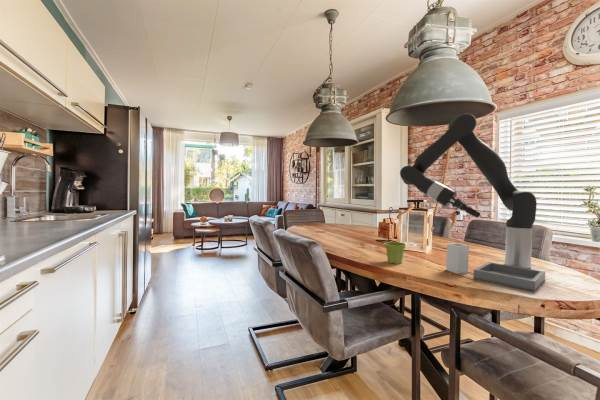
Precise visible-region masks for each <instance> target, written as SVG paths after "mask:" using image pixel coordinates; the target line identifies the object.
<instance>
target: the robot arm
mask: <svg viewBox="0 0 600 400" xmlns="http://www.w3.org/2000/svg"><path fill="white" fill-rule="evenodd" d="M476 126H477V118H476V117H475V116H474V115H473V114H471V113H462V114H459V115H457V116H456V117H453V118H452V119H451V120H450V121H449V123H448V127H447V128H448V129H447V130H446V132H445V133H443V134H442V135H441V136H440V137H439V138H438V139H436V140H435V141H434V142H433V143H432V144H430V145H429V146H427V148H425V149H424V150H423V151H422V152H421V153H420V154H419V155H418V156H417V157H416V158H415V159H414V163H413V165H412V166H411V165H405V166H403V167H402V168H401V169H400V172H399V174H400V178H401V179H402V182H403V183H404V184H406V185H408V186H411V185H412V186H414V187H415V188H416V189H417V190H418V191H420V192H421V193H423V194H424V195H426V196H428V197H429V198H430V199H431V200H433V201H435V202H436V203H439V204H440V205H441V206H443V207H448V206H450V205H451V207H453V208H455V209H457V210H458V211H462V212H464V213H467V214H469V215H471V216H473V217H475V218H480V216H481V212H479V211H478V210H475V209H474V208H473V207H472V206H469V204H468V203H466V202H464V200H462V199H460V198H458V197H457V198H456V196H457V192H456V191H455V190H453V189H452V188H450V187H448V186H446V185H445V184H442V183H441V182H439V181H436V180H434V179H433V178H431V177H428V176H427V175H425V173H426V171H427V170H428V169H429V168H430V167H432V165H433V164H435V163H436V161H437V160H439V158H441V157H442V156H443V155H444V154H445V153H446V152H447V151H448V150H449V149H450V148H451V147H453V145H455V144H456V143H457V142H458V143H459V144H460V146H461V147H462V149H464V150H465V152H466V153H467V155H468V156H469V158H470V159H471V160H472V162H473V163H474V164H475V166H476V167H477V168H478V170H479V171H480V173H481V174H482V175H483V176H484V177H485V179H486V180H487V181H488V183H489V184H490V185H491V187H492V188H493V189H494V190H495V192H496V194H497V196H498V198H499V199H500V201H501V202H502V204H503V206H504V207H505V208H506V209H507V210H509V211H512V212H511V216H510V218H509V219H507V220H506V224H505V225H506V226H505V248H504V249H505V253H504V265H509V266H515V267H521V268H527V269H531V267H532V245H533V226H534V223H535V221H536V216H537V215H536V214H537V205H538V204H537V198H536V196H535V194H534V193H532V192H531V191H525V190H518V189H517V187H516V186H514V184H513V183H512V182H511V180H510V178H509V174H508V170H507V166H506V164H505V162H504V160H503V159H502V158H501V156H499V154H498V153H497V152H496V151H495V150H494V149H493V148H492V147H491V146H489V145H488V144H486V143H485V142H483V141H482V140H481V139H480V138H479V137H478V136H477V135H476V134H475V132H474V130H475V129H476Z"/></svg>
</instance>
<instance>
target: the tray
mask: <svg viewBox="0 0 600 400" xmlns="http://www.w3.org/2000/svg"><path fill="white" fill-rule="evenodd" d="M473 280H478V281H480V282H481V281H482V282H486V283H492V284H497V285H501V286H505V287H510V288H514V289H519V290H525V291H527V292H532V293H535V292H536V291H537V290H538V289H539V288H540V287H541V286H542V285H543V284H544V283H545V282H546V271H545V270H544V271H543V270H538V269H532V268H521V267H515V266H509V265H506V264H503V263H498V262H491V261H488V262H486V263H484V264H482V265H480V266H478V267H476V268H474V269H473Z"/></svg>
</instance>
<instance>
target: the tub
mask: <svg viewBox="0 0 600 400" xmlns="http://www.w3.org/2000/svg"><path fill="white" fill-rule="evenodd" d="M469 251H470V245H467V244H462V243H459V242H456V243H447V244H446V259H445V260H446V261H445V263H446V265H445V267H446V268H445V270H446V271H449V272H450V273H454V274H459V275H460V274H467V273H469V256H470V255H469V254H470V253H469Z"/></svg>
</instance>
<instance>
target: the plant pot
mask: <svg viewBox="0 0 600 400" xmlns="http://www.w3.org/2000/svg"><path fill="white" fill-rule="evenodd" d="M383 244H384V246H385V249H386V257H387V263H389V264H395V265H399V264H402V263H403V258H404V251H405V249H406V246H407V244H406V243H404V242H400V241H385V242H384V243H383Z"/></svg>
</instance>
